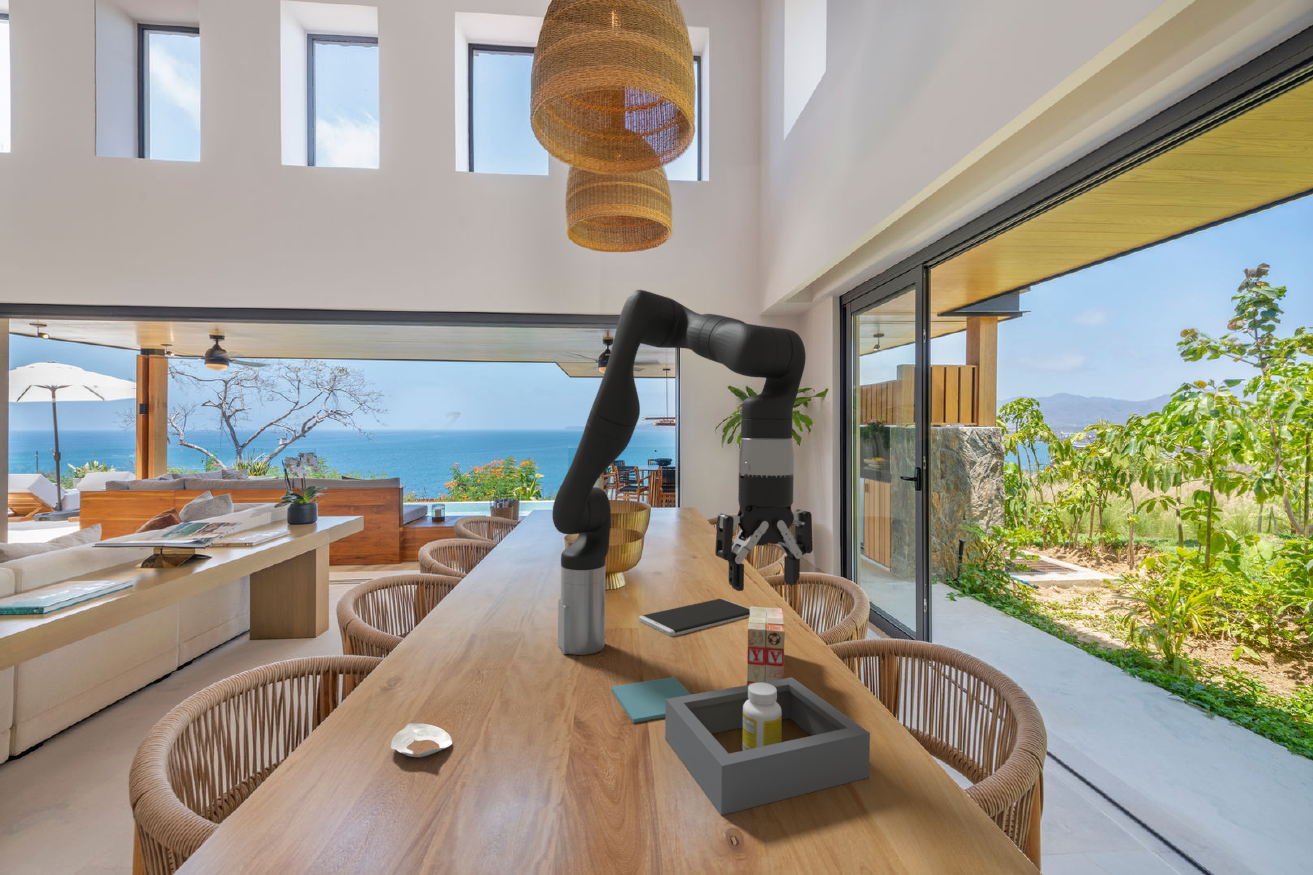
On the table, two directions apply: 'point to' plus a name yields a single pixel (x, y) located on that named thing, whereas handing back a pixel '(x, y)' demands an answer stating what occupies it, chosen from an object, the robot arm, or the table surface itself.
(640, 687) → the mat
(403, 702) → the table surface
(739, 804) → the box
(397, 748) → the white seashell fragment
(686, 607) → the smartphone
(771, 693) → the supplement bottle
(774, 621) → the stack of blocks
